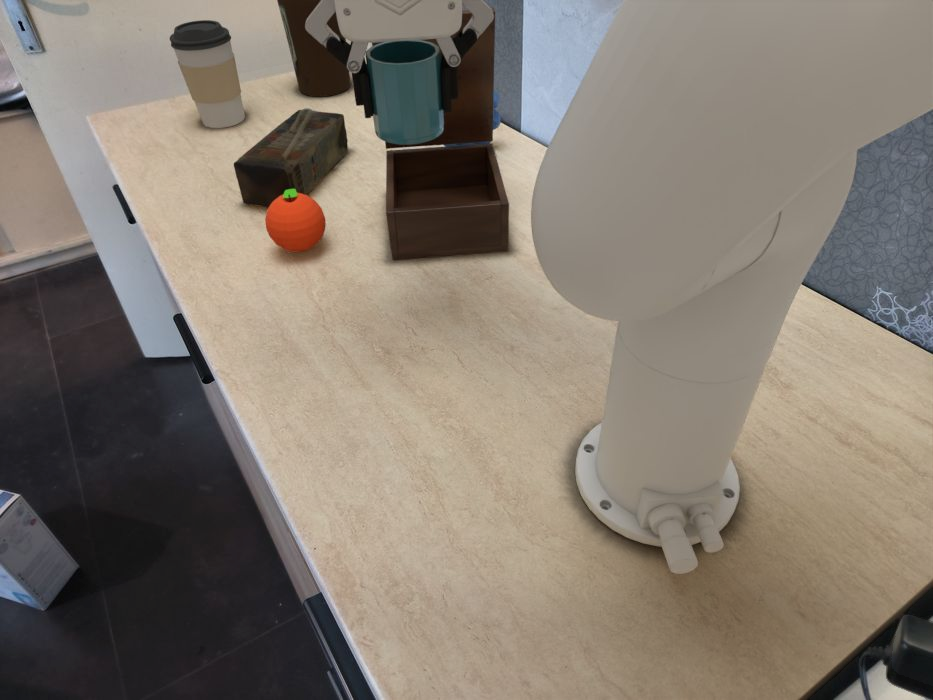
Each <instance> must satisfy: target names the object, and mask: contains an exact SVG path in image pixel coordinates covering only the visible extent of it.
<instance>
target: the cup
mask: <svg viewBox="0 0 933 700" xmlns="http://www.w3.org/2000/svg"><path fill="white" fill-rule="evenodd" d="M365 61H366V64H367V71H368V77H369V85H370V93H371V101H372V109H373V116H372V118H373V119H372V120H373V127H374V132H375V133H374V134H375V136H377V138H378V139H380V140H381V141H383V142H384V143H385V142H388V143H393V144H401V145H411V144H419V143H424V142H427V141H430V140H433V139H435V138H436V137H438V136H439V135H440V134H441V133H442V132H443V129H444V116H443V99H442V79H441V55H440V48H439V47H438V46H437V45H435V44H434V43H431V42H427V41H423V40H410V41H393V42H382V43H380V44H377V45H374V46H372V45H371V46H370V47H369V48H367V50H366V53H365Z"/></svg>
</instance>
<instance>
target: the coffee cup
mask: <svg viewBox="0 0 933 700" xmlns="http://www.w3.org/2000/svg"><path fill="white" fill-rule="evenodd" d="M231 39H232V35H231V34H230V31H229V29H228V28H227V27H224V26H222V24H221V23H220V22H219V21H217V20H211V19H210V20H209V19H207V20H206V19H203V20H193V21H188V22H184V23H181V24H178V25H177V26H175V27H174V29H173V33H172V34H171V35H170V36H169V41H170V47H171V48H173V51H174V53H175V56H176V58H177V64H178V66H179V67H178V68H179V69H180V72H181V75H182V76H183V77H182V78H183V79H184V82H185V84H186V86H187V89H188V92H189V94H190V97H191V99H192V101H193V102H194V104H195V106H196V109H197V112H198V114H199V117H200V119H201V122H202V125H203V126H204V127H207V128H211V129H222V128H223V129H224V128H229V127H234V126H236V125H239V124H240V123H242V122H243V121H244V120H245V119H246V115H245V110H244V109H245V108H244V105H243V100H242V89H241V83H240V78H239V74H238V69H237V62H236V58H235V57H236V56H235V53H234V52H233V48H232V42H231Z"/></svg>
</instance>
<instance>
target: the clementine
mask: <svg viewBox="0 0 933 700" xmlns="http://www.w3.org/2000/svg"><path fill="white" fill-rule="evenodd" d="M264 219H265V229H266V231H267V234H268V236H269V238H270V239H271V240H272V241H273V242H274V243H275V244H276V246H277V247H280V248H281V249H283V250H284V251H288V252H294V253H301V252H305V251H309V250H311V249H313V248H314V247H316V246H317V245H318V244H319V243H320V241H321V240H322V238H323V237H324V235H325V231H326V227H327V226H326V217H325V213H324V210H323V208H322V207H321V206H320V204H319V203H318V202H317V201H316V200H315V199H314V198H312V197H311V196H309V195H308V194H307V195H304V194H301V193H297V192H296V189H288V190H285V192H284V194H283V195H281V196H279V197H278V198H277V199H275V200H274V201H273V202H272V203H271V205H270V206H269V207H267V210H266V214H265V218H264Z"/></svg>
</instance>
